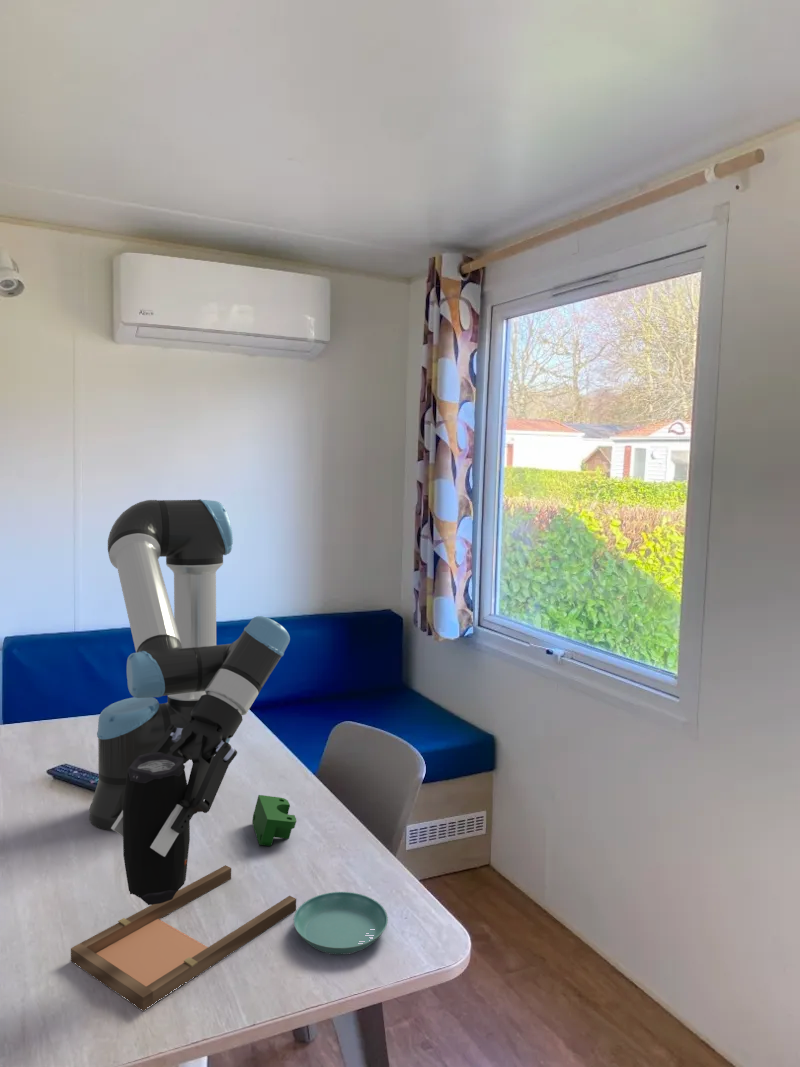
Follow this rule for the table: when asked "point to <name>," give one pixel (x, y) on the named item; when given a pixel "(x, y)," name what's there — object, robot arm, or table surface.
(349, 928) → the saucer
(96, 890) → the table surface
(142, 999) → the rail track
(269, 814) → the clamp
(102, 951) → the flat panel
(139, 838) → the portable speaker
